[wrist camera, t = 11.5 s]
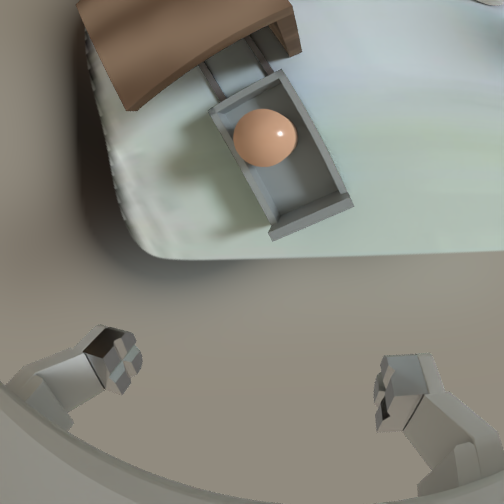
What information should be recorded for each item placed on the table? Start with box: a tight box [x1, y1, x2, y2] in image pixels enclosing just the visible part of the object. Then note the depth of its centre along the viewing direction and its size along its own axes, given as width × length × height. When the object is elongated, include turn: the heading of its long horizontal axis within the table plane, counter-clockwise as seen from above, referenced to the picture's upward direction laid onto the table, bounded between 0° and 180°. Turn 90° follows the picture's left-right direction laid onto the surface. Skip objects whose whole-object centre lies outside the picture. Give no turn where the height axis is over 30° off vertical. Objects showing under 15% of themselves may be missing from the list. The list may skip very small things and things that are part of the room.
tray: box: [208, 69, 354, 242], centre depth 22 cm, size 12×7×4 cm, turn 29°
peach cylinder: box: [233, 109, 298, 167], centre depth 20 cm, size 4×4×6 cm
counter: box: [76, 0, 302, 111], centre depth 17 cm, size 26×12×10 cm, turn 29°
